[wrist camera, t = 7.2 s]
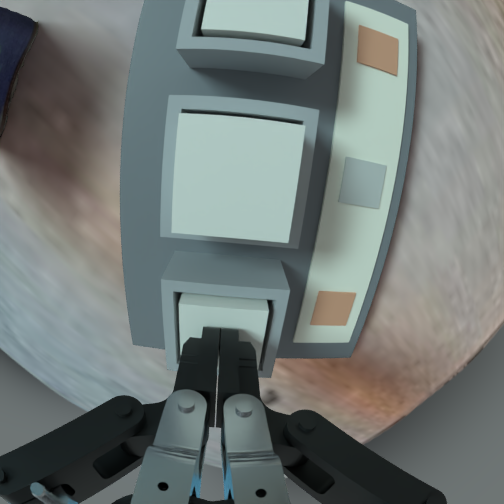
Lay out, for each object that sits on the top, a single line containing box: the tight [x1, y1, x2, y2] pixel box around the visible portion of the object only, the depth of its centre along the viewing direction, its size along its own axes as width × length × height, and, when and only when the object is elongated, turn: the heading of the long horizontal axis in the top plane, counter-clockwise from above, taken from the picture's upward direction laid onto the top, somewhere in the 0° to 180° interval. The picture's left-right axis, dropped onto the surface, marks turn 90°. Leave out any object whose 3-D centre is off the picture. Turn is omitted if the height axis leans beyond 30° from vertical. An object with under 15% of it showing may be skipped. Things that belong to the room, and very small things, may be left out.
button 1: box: [179, 292, 269, 370], centre depth 13 cm, size 4×4×3 cm
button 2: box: [201, 0, 309, 47], centre depth 8 cm, size 4×4×3 cm
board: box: [120, 0, 417, 378], centre depth 12 cm, size 22×14×5 cm, turn 174°
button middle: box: [171, 113, 305, 243], centre depth 9 cm, size 4×4×3 cm
